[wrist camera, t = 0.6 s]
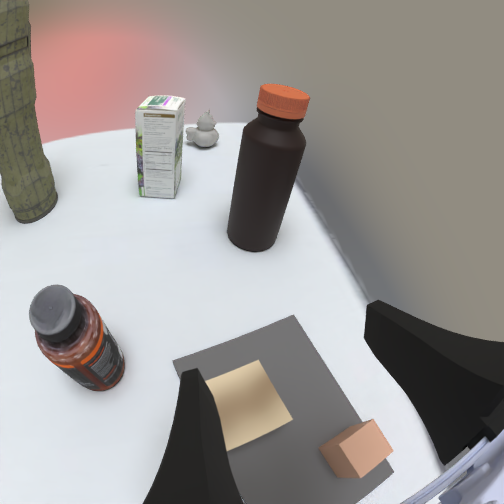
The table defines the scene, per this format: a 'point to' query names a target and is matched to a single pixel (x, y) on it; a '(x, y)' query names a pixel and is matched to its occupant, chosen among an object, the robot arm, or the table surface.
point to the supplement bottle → (76, 338)
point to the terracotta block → (356, 450)
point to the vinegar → (267, 167)
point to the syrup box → (159, 145)
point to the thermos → (21, 121)
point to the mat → (297, 430)
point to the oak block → (247, 404)
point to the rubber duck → (203, 131)
